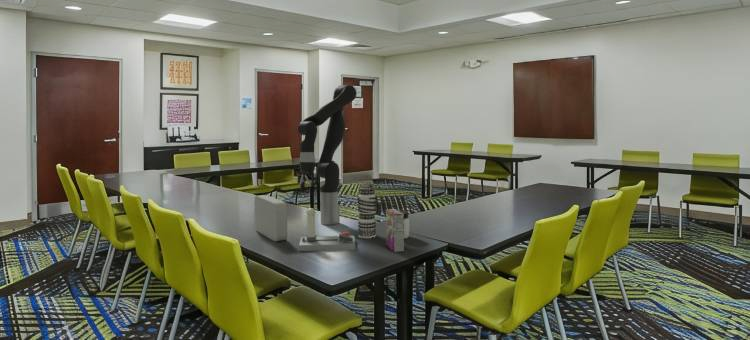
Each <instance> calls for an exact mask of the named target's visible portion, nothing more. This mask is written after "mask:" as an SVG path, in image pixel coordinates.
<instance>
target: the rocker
mask: <svg viewBox="0 0 750 340" xmlns="http://www.w3.org/2000/svg"><path fill="white" fill-rule="evenodd" d="M338 236H339V238H341V239H344V240H345V241H347V240H348V241H353V238H352V237H349V236H346V235H342V233H339V234H338Z"/></svg>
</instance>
